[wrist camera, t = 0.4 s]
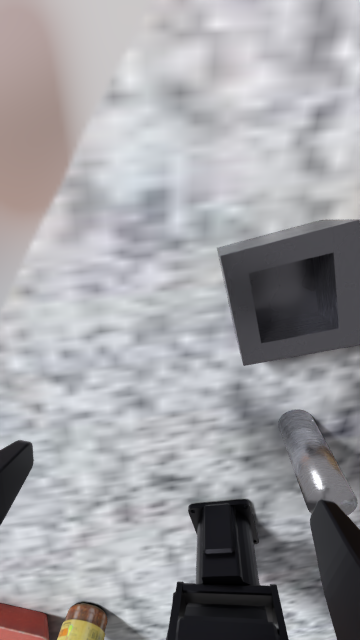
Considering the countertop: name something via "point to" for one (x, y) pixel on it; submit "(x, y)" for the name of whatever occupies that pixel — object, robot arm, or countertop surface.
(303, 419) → the rounded metal peg
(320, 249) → the square hollow tube
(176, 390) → the countertop surface
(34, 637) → the plant saucer
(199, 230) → the countertop surface
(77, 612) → the sauce bottle
